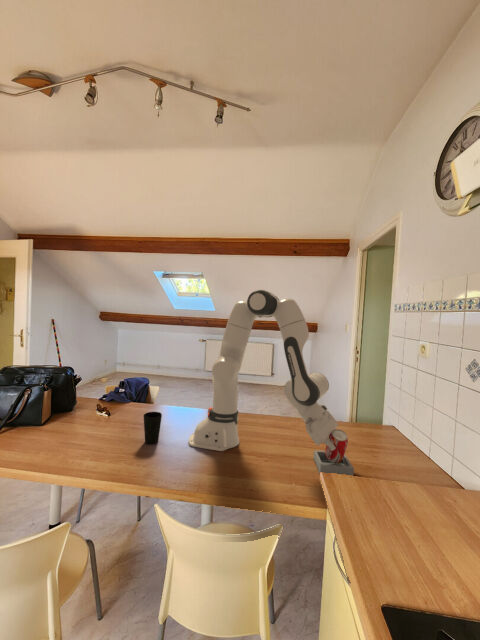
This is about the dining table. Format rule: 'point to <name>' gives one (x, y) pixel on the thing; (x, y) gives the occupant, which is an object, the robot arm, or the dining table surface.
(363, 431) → the dining table surface
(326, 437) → the robot arm
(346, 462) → the tray
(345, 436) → the soda can
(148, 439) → the cup
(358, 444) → the dining table surface
